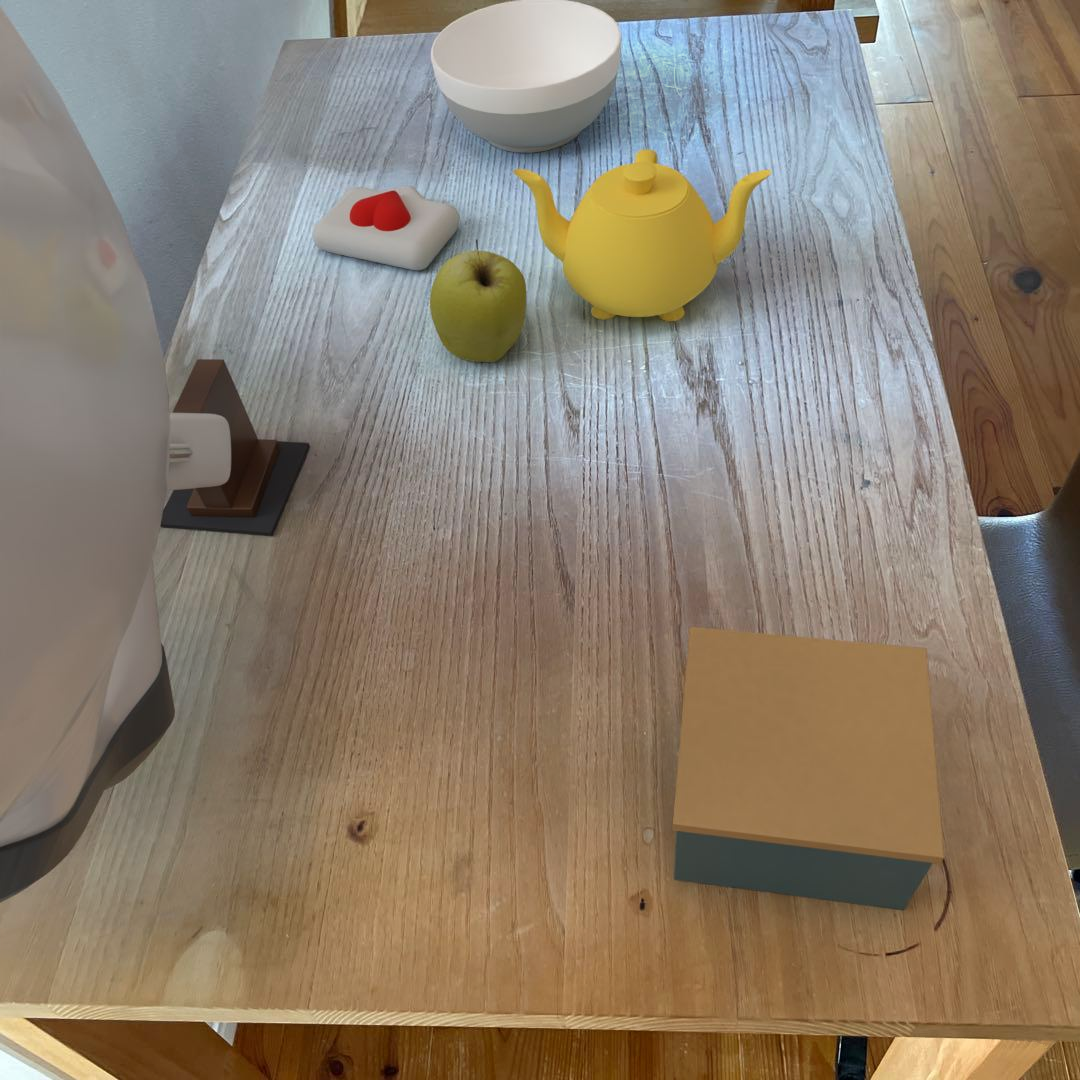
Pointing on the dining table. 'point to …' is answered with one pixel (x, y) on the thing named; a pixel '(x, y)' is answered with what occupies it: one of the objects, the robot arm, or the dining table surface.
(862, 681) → the toy box
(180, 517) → the mat
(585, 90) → the bowl
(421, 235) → the icon
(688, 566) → the dining table surface
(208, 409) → the brown upright sign stand
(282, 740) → the dining table surface
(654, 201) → the teapot
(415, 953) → the dining table surface
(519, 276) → the apple
